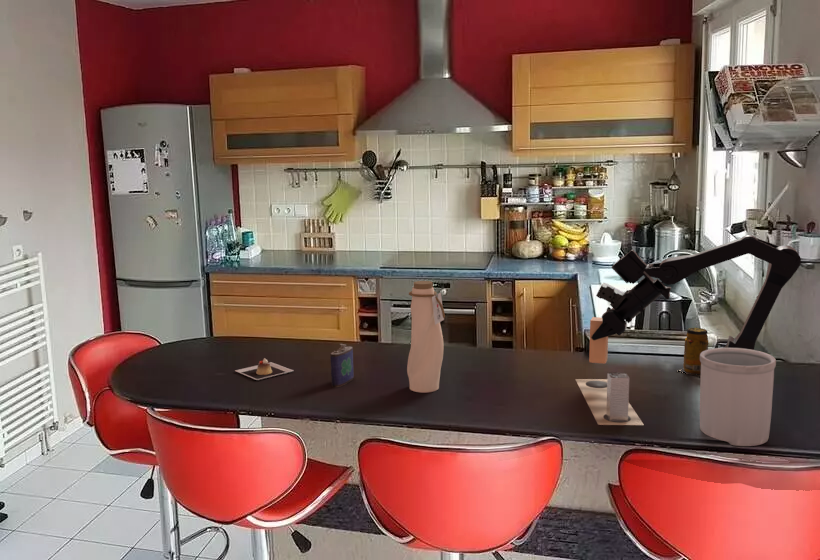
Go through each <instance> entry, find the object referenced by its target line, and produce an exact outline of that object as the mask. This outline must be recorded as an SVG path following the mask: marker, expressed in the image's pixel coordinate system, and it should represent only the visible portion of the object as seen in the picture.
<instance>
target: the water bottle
mask: <svg viewBox="0 0 820 560" xmlns="http://www.w3.org/2000/svg"><path fill="white" fill-rule="evenodd" d="M408 295H409V296H411V302H410V314H411V331H410V332H411V335H410V338H411V340H410V350H409V353H408V357H407V367H406V372H407V377H408V382H409V390H410V391H413V392H416V393H421V394H423V393H424V394H425V393H432V392H436V391H437V390H439V389H440V377H441V368H442V364H443V359H444V347H445V346H444V338H443V337H444V335H443V331H442V330H443V329H442V326H441V322H442V321H445V318H446V315H445V314H446V313H445V309H444V307H443V300H442V299H443V298H442V292H439V293H438V292H437V291H436V290H435V289H434V286H433V281H429V280H418V281H417V280H416V281H413V286H412V289H411V290H410V291H409V292H408Z"/></svg>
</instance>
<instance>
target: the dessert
mask: <svg viewBox="0 0 820 560" xmlns="http://www.w3.org/2000/svg"><path fill="white" fill-rule="evenodd" d="M272 368H274V369H278V370H280V371H283V372H282V373H277V374H274V375H270V374H272V373H273V370H272ZM253 370H256V371H255V373H256V374H257V375H259V376H264V377H261V378H255V377H253V376H251V375H248V374H246V373H244V372H249V371H253ZM234 371H235V372H237V373H239V374H241V375H243V376H246V377H248V378H251V379H253V380H256V381H261V380H265V379H271V378H274V377H278V376H282V375H286V374H289V373H292V372H294V369H291V368H287V367H285V366H282V365H280V364H277V363H276V362H275V363H274V362H271V361H270V362H269V361H268V359H266V358H265V357H264V358H263V359H262V358H261V360H259V362H258V364H257V365H253V366H248V367H245V368H240V369H236V370H234ZM267 375H268V376H267Z"/></svg>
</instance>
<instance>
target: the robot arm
mask: <svg viewBox="0 0 820 560" xmlns="http://www.w3.org/2000/svg"><path fill="white" fill-rule="evenodd" d="M748 254H749V255H751V256H754V257H756V258H758V259H760V260H762V261H764V262H766V263H768V266H767V271H766V275H765V279H764V282H763V284H762V286H761V288H760V290H759V293H758V295H757V296H756V299H755V300H754V302H753V304H752V306H751V309H750V311H749V313H748V315H747V317H746V319H745V321H744V322H743V323H744V324H743V326H742V327H741V329H740V332H739V333H737V335H736V336H735V337H733V336H731V335H729V336H728V338H727V343H726V345H725V346H724V347H723V348H743V349H750V350H755V346H756V343H757V340H758V337H759V335H760V333H761V331H762V329H763V327H764V325H765V324H766V322H767V320H768V318H769V315H770V313H771V311H772V309H773V307H774V306H775V303H776V301H777V299H778V297H779V296H780V294H781V290H782V289H783V287H784V286H786V284H787V283H788V282H789V281H790V280H791V278H793V276H794V274H796V272H797V271H798V269H799V268H800V266H801V263H802V260H801V259H802V258H801V256H800V254H799V252H798V251H797V250H796V249H795V248H794V247H793V246H791V245H780V246H779V245H777V244H774V243H772V242H769V241H766V240H762V239H760V238H757V237H756V236H754V235H753V234H747V235H744V236H742V237H741V238H737V239H734V240H732V241H729V242H726V243H723V244H720V245H716V246H714V247H711V248H709V249H706V250H703V251H700V252H697V253H694V254H686V255H680V256H679V255H678V256H673V257H668V258H665V259H663V260H662V261H661V262H653V263H646V262H645V261H644V260H643V259H642V258H641V257H640V256H639V255H638V253H637V251H635V250H634V249H631V250H630V251H628V252H627V253H626V254H625V255H623V256H621V258H619V259H618V260H617V261H616V262H615V263H614V264H613V265H612V266H611V269H612V271H614V272H615V273H616V274H617V275H618V276H619V277H620V278H621V279H622V280H623V282H624V283H626V284H632V285H634V286H633V287H632V288H631V289H627V290H626V291H624V292H623V291H622V290H620V289H618V288H616V287H614V286H613V285H610V284H609V283H606V282H603V283H602V284H601V285H600V287H599V289H598V291H597V293H596V295H595V296H596V297H597V298H598V299H600V300H601V299H602V300H604V301H606V302H608V303H610V304H609V306H610V307H609V306H608V307H607V308H606V310H605V312H603V314H602V316H601V318H602V320H603V322H602V324H601V325H600V326H599V328H598V329H597V330H596V331H595V333H594V334H593V335H592V336H591V338H592V339H593V340H597V339H600V338H604V337H607V336H608V337H609V336H614V335H618V336H619V337H620V336H621V335H622V334H623V333H625V332H626V329H627V327H628V324H630V323H631V322H632V321H633V319H634V318H635V317H637V316H638V315H639V314H641V313H642V312H644V311H645V309H646V308H647V307H648V306H650V305H651V304H652V303H654V301H656V299H658V298H659V297H660V296H663V298H665V299H666V300H669V299H670V297H671V290H672V287H671V286H669V285H675V284H678V283H680V282H681V281H683V280H685V279H686V278H688V277H690V276H692V275H694V273H697V272H699V271H701V270H703V269H706V268H709V267H713V266H714V265H718V264H721V263H725V262H727V261H730V260H733V259H737V258H739V257H742V256H745V255H748ZM642 277H644V278H642ZM641 278H642V279H641ZM640 279H641V280H640ZM639 280H640V281H639ZM638 281H639V282H638ZM637 282H638V283H637ZM664 284H665V285H664ZM666 285H668V286H666Z"/></svg>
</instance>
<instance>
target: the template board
mask: <svg viewBox="0 0 820 560" xmlns="http://www.w3.org/2000/svg"><path fill="white" fill-rule="evenodd" d="M575 382H576V383H577V385H578V387H579V390H580V392H581V394H582V395H583V398H584V400H585V402H586V403H587V406H588V407H589V410H590V412H591V413H592V415H593V417H594V419H595V421H596V423H597V425H598V426H599V425H601V426H602V425H603V426H644V423H643V421H642V419H641V418H640V417H639V415H638V414H637V412H636V411H635V409H634V408H633V407H632V404H630V402H629V403H628V421H610V420H609V419H608V417H607V415H606V406H607V378H604V379H602V378H599V379H598V378H597V379H596V378H594V379H593V378H587V379H586V378H584V379H583V378H578V379H577V378H575Z"/></svg>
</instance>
